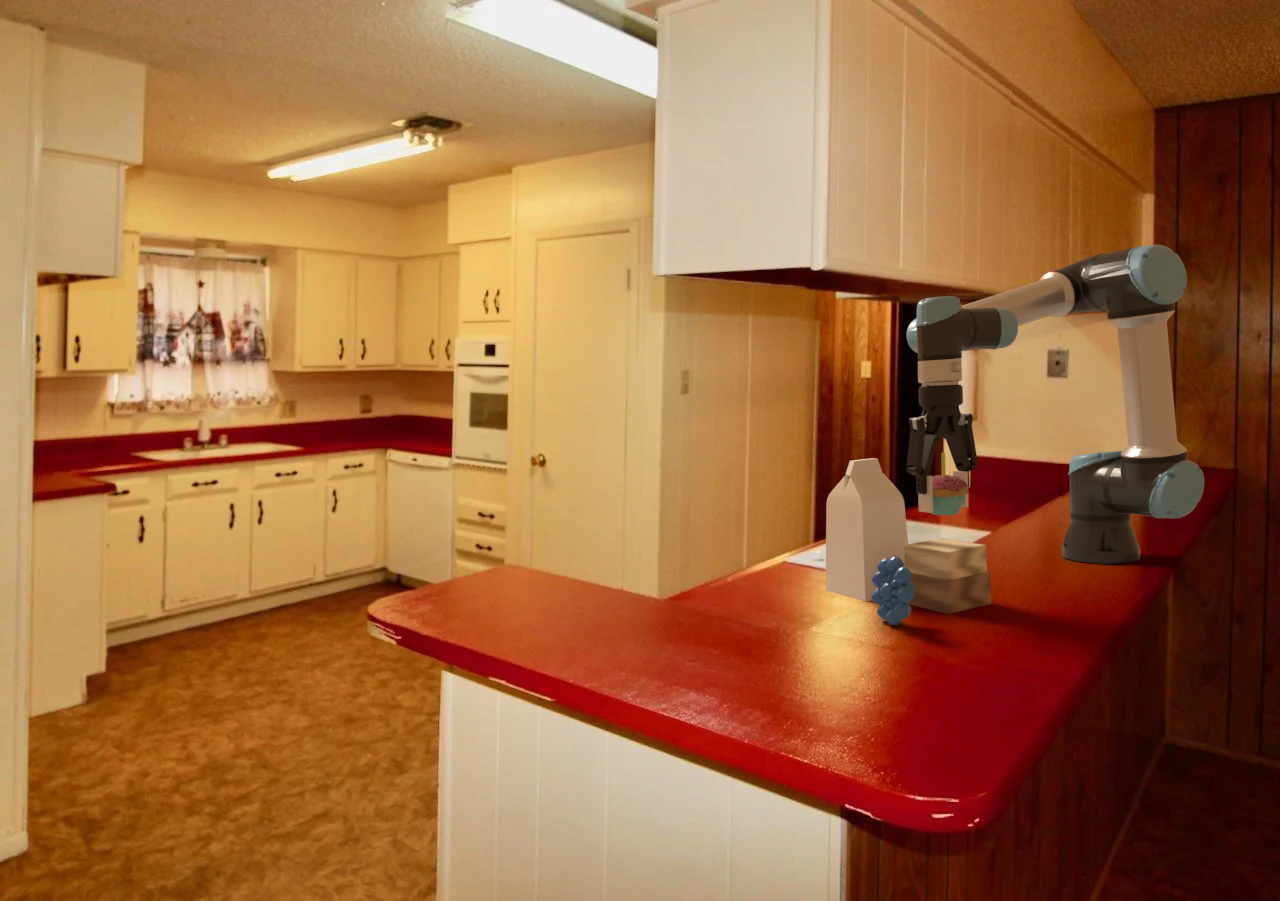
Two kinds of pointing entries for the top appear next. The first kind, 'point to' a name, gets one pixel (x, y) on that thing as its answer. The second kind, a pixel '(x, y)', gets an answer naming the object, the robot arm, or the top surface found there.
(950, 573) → the block top
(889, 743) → the top surface
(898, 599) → the grapes
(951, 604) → the block bottom
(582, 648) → the top surface
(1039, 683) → the top surface
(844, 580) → the milk
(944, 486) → the cupcake
